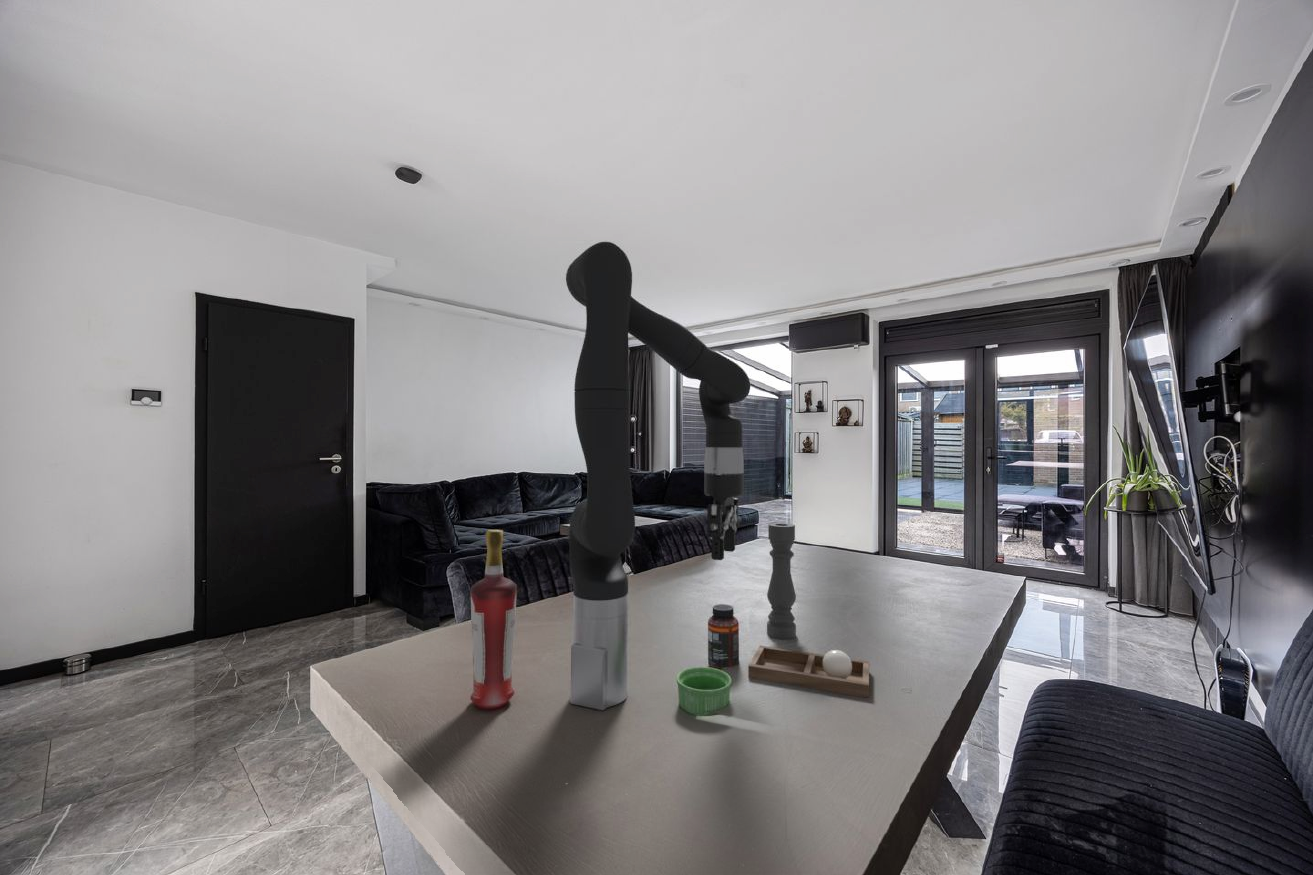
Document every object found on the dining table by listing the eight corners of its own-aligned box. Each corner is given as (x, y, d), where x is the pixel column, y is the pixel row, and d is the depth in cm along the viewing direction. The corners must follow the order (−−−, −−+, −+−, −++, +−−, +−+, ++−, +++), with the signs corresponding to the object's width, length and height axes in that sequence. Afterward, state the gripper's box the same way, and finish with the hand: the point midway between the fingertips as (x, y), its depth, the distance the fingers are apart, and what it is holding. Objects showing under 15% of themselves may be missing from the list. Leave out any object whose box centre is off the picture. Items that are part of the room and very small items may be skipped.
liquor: (468, 696, 89) (470, 528, 90) (513, 689, 92) (515, 526, 92) (469, 717, 82) (471, 535, 83) (518, 709, 85) (519, 533, 85)
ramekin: (686, 722, 81) (686, 693, 82) (669, 695, 90) (669, 669, 90) (740, 714, 84) (740, 686, 84) (718, 689, 93) (719, 664, 93)
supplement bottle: (738, 660, 105) (738, 602, 105) (739, 673, 99) (740, 612, 99) (707, 659, 105) (708, 601, 106) (707, 671, 100) (707, 611, 100)
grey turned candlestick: (788, 646, 112) (789, 527, 113) (762, 639, 116) (762, 525, 117) (800, 638, 117) (800, 524, 118) (774, 632, 121) (774, 522, 122)
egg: (851, 687, 91) (851, 658, 91) (821, 682, 93) (821, 653, 93) (852, 675, 96) (852, 647, 96) (823, 671, 98) (823, 643, 98)
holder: (868, 703, 88) (868, 685, 88) (748, 682, 95) (748, 665, 95) (869, 677, 97) (869, 661, 97) (759, 660, 105) (759, 645, 105)
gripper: (715, 469, 111) (714, 547, 111) (693, 472, 98) (693, 560, 97) (751, 470, 108) (750, 550, 108) (734, 473, 95) (733, 564, 95)
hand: (723, 555), depth 103 cm, fingers open, 8 cm apart
